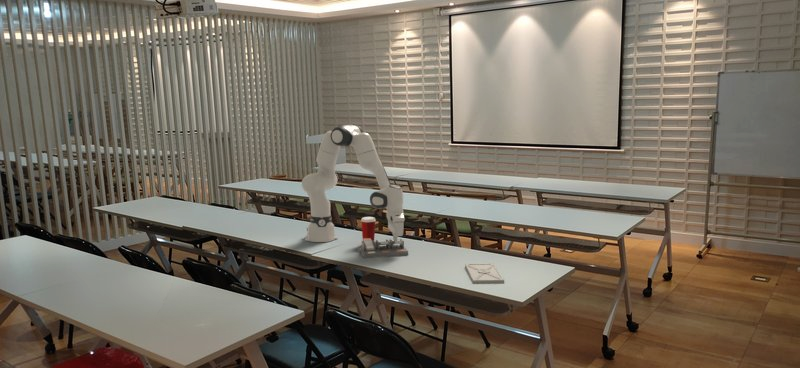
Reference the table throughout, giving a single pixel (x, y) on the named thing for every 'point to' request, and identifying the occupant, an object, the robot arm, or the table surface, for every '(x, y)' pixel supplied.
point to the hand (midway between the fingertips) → (395, 240)
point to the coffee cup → (368, 227)
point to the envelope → (484, 273)
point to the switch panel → (384, 250)
